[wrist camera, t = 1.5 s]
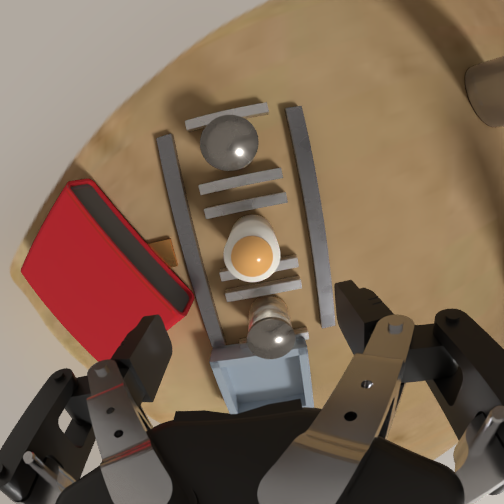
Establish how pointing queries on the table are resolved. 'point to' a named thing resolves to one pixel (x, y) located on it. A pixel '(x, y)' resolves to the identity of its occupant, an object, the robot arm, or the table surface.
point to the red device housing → (100, 272)
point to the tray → (261, 377)
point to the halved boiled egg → (252, 249)
